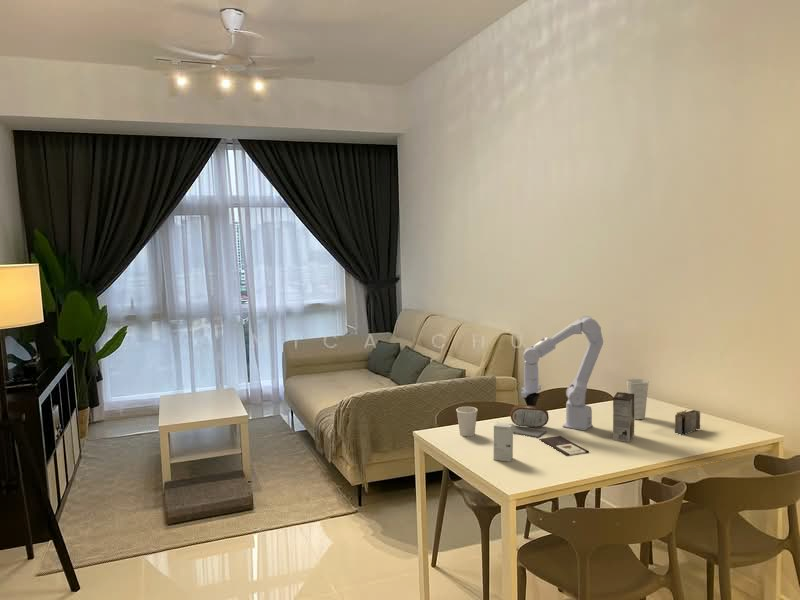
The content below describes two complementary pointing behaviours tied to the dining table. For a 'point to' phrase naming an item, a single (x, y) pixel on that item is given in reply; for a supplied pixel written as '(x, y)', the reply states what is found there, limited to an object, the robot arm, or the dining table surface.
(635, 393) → the cup
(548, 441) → the chocolate bar
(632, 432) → the coffee box
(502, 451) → the skincare box
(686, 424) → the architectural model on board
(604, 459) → the dining table surface
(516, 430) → the mat
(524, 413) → the tin
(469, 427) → the dixie cup
